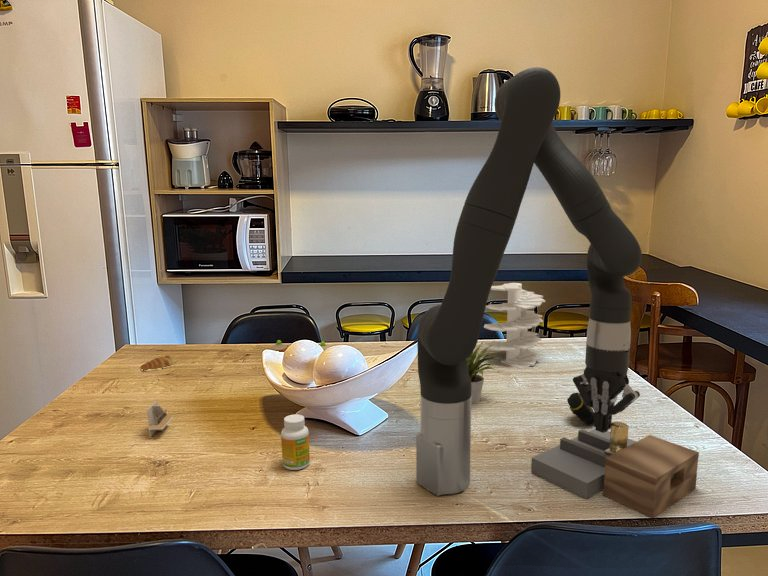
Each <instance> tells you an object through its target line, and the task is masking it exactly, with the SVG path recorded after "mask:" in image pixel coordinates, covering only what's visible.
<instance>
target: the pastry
mask: <svg viewBox="0 0 768 576" xmlns="http://www.w3.org/2000/svg"><path fill="white" fill-rule="evenodd" d="M174 364H175V361H174V360H173V357H172V356H171V355H170V354H169V355H167V354H166V355H165V356H159V357H155V358H153V359H152V360H150V361H147V362H146V363H144V364H142V365H141V366H140V370H141V369H143V370H148V369H157V368H163V367H167V366H171V365H174Z"/></svg>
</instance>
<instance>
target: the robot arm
mask: <svg viewBox="0 0 768 576" xmlns="http://www.w3.org/2000/svg"><path fill="white" fill-rule="evenodd" d="M560 103H561V87H560V83H559V80H558V79H557V77H556V76H555V74H554V73H553V72H552V71H551V70H548V69H547V68H545V67H538V66H536V67H530V68H529V67H528V68H526V69H523V70H521V71H520V72H517V73H516V74H515V75H513V76H512V77H510V78H509V79H507V80H506V81H504V83H502V84H501V86H500V87H499V88H498V90H497V92H496V94H495V98H494V110H495V113H496V116H497V118H498V120H499V121H500V125H499V129H498V131H497V132H498V133H497V136H496V139H495V142H494V145H493V148H492V150H491V151H490V154H489V156H488V158H487V159H486V160H485V162H484V164H483V166H482V167H481V169H480V171H479V173H477V176H476V178H475V180H474V181H473V184H472V185H471V186H470V187H471V188H470V189H469V191H468V193H467V196H466V199H465V201H464V203H463V204H464V205H463V207H462V210H461V213H460V216H459V218H458V222H457V226H456V228H455V233H454V239H453V248H452V258H451V259H452V260H451V270H450V271H451V272H450V276H449V277H450V278H449V282H448V285H447V288H446V291H445V294H444V296H443V299H442V301H441V303H440V304H438V305H434V306H432V307H430V308H429V309H428V310H426V311H425V312H424V313H423V315H422V316H421V317H420V319H419V321H418V325H417V334H416V335H417V337H416V338H417V339H416V341H417V344H416V345H417V371H418V372H417V373H418V374H417V375H418V379H419V384H420V385H419V387H420V389H419V390H420V433H418V434H417V435H416V437H415V439H416V441H415V445H416V446H415V447H416V450H415V453H416V454H415V455H416V460H415V461H416V463H415V464H416V465H415V466H416V469H415V472H416V473H415V474H416V476H415V478H416V479H415V480H416V483H417V484H418V485H419V486H422V488H424V489H426V490H428V491H429V492H431V493H433V494H434V495H436V496H438V497H440V496H441V495H451V494H452V495H453V494H457V493H461V492H463V491H465V490H466V489H468V488H469V486H470V483H471V445H472V444H471V441H472V440H471V438H472V437H471V436H472V434H471V433H472V428H471V427H472V404H471V389H472V386H471V379H470V376H469V373H468V368H467V360H466V359H467V358H468V357H469V356H470V355H471V354H472V352H473V353H474V351H475V350H476V348H477V345H478V340H479V336H480V333H481V329H482V324H483V321H484V320H483V319H484V315H485V311H486V305H487V303H488V298H489V296H490V292H491V291H492V290H491V287H492V286H493V284H494V282H495V278H496V276H497V274H498V272H499V271H498V270H499V268H500V265H501V263H502V259H503V257H504V253H505V251H506V249H507V247H508V244H509V241H510V238H511V235H512V233H513V229H514V226H515V224H516V221H517V219H518V214H519V212H520V211H519V210H520V208H521V205H522V202H523V199H524V196H525V192H526V189H527V187H528V184H529V181H530V176H531V175H532V170H533V167H534V165H535V166H536V168H537V169H538V170H539V172H540V173H541V175H542V177H544V179H545V182H546V183H547V185H548V186H549V187H550V189H551V190H552V191H553V194H554V196H555V197H556V199H557V201H558V202H559V204H560V205H561V207H562V209H563V211H564V213H565V214H566V216H567V218H568V220H569V221H570V223H571V224H572V226H573V228H574V229H575V230H576V231H577V232H578V233H579V234H581V235H583V236H584V237H585V238H586V239H587V240H588V242H589V243H590V244H589V247H588V250H587V252H586V253H587V255H586V269H587V278H588V284H589V291H590V300H589V301H590V302H589V317H588V318H589V319H588V325H587V328H586V329H587V330H586V346H585V359H584V363H585V368H584V369H583V373H581V374H579V375H576V376H574V377H573V378H572V382H573V383H574V384H573V385H575V387H576V389H577V391H578V393H580V395H581V397H582V399H583V400H584V402H585V404H586V405H587V406H590V407H591V408H592V409H593V411H594V424H593V426H594V428H596V430H597V431H599V432H602V433H604V432H606V431H610V430H611V423H612V422H613V421H612V420H613V416H615V415H617V414H618V413H622V412H623V411H625V410H626V409H627V408H628V407H629V406H630V405H631V404H632V403H633V402H635V401H636V400H637V399H638V398H640V396H641V394H640V392H639V391H638V390H634V389H633V388H632V387H631V386H630V385H629V384H630V379H629V377H628V370H629V365H630V351H631V342H632V341H631V340H632V339H631V338H632V330H631V329H632V328H631V320H632V319H631V318H632V317H631V316H632V303H633V300H632V293H631V291H630V290H629V289H628V288H627V287H626V286H625V277H627V276H630V275H632V274H634V273H635V272H636V271H638V269H639V267H640V266H641V263H642V260H643V253H642V247H641V245H640V244H639V241H638V240H637V238H636V236H635V235H634V234H633V232H632V231H631V230H630V229H629V228H628V226H627V225H626V224H625V222H623V221H622V219H621V218H620V217H619V216H618V215H617V213H615V211H614V210H613V208H612V206H611V203H610V202H609V201H608V198H607V197H606V195H605V194H604V192H603V190H602V188H601V187H600V184H599V183H598V181H597V180H596V178H595V177H594V175H593V174H592V173H591V171H590V170H589V169H588V168H587V167H586V165H584V164H583V163H582V161H580V160H579V158H577V156H576V155H575V154H574V153H573V152H572V151H571V149H569V147H567V145H566V144H565V142H564V141H563V140H562V138H561V137H560V135H559V134H558V133H557V130H556V129H555V126H554V124H553V120H554V118H555V116H556V114H557V112H558V110H559V106H560ZM621 393H622V395H621V397H622V399H620V400H619V401H618V395H620V394H621ZM616 401H618V402H617V403H616Z"/></svg>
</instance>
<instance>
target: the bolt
mask: <svg viewBox="0 0 768 576" xmlns="http://www.w3.org/2000/svg"><path fill="white" fill-rule="evenodd" d="M609 432H610V447H609V449H607V450H605V453H604V454H607V455H609V456H611V455H612V454H614V453H616V452H618V451H620V450H622V449H624V448H626V447H627V442H628V439H629V425H628V424H627V423H626V422H621V421H612V423H611V428H610V431H609ZM672 478H674V474H673V475H672V476H671V479H672Z"/></svg>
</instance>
